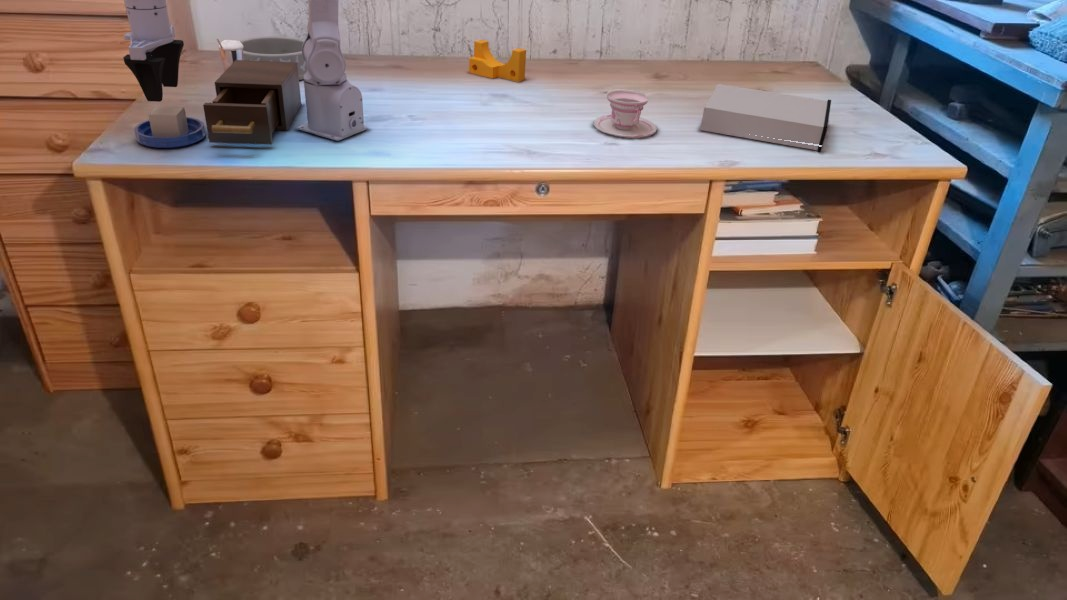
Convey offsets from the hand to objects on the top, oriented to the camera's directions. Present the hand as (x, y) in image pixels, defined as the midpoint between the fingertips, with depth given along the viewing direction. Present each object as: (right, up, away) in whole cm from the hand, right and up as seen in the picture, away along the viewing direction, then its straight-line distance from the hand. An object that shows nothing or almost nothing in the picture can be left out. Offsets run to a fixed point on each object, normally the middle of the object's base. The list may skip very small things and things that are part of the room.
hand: (162, 93), depth 127 cm
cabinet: (+11, 0, +16) cm, 19 cm away
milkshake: (+1, +8, +29) cm, 30 cm away
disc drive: (+106, 0, +27) cm, 109 cm away
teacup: (+78, -1, +22) cm, 81 cm away
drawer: (+12, -5, +5) cm, 14 cm away
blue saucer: (0, -6, +4) cm, 8 cm away
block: (0, -6, +4) cm, 7 cm away
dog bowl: (+5, +15, +40) cm, 43 cm away
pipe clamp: (+52, +16, +46) cm, 72 cm away
